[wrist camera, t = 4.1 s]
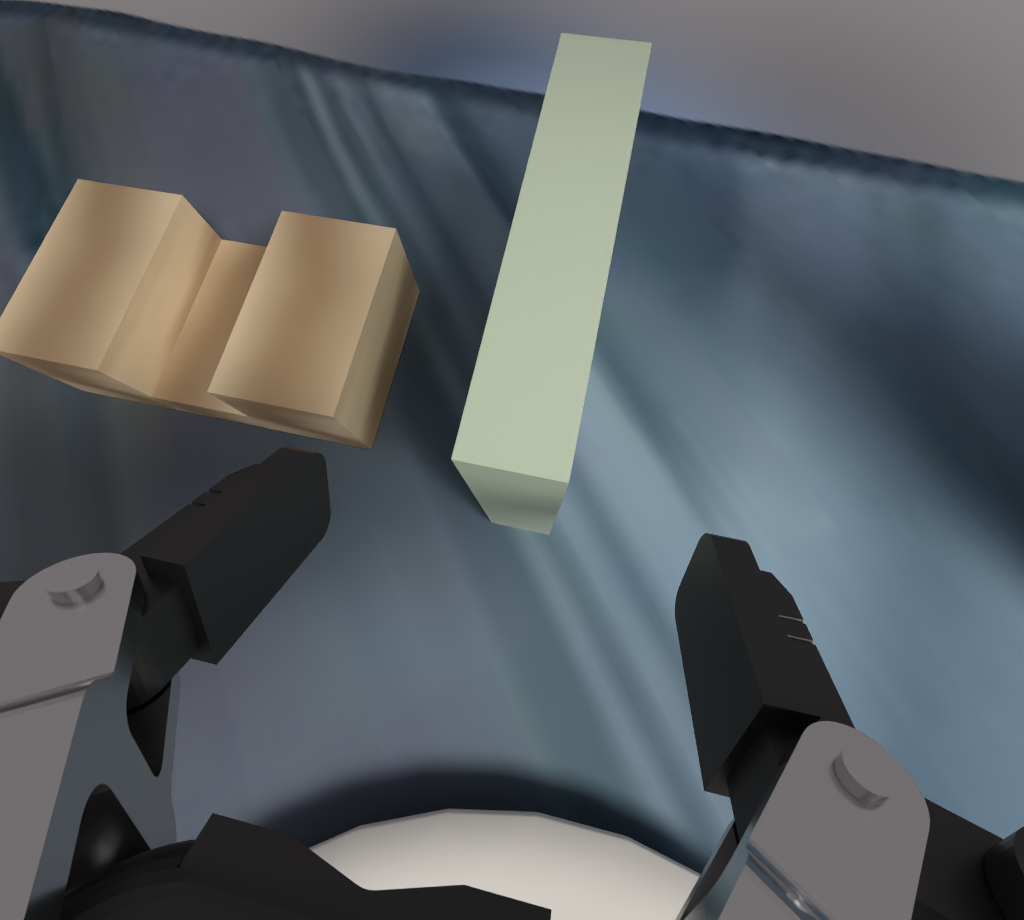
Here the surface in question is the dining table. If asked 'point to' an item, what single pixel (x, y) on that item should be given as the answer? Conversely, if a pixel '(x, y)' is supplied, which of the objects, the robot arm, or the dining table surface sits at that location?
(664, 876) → the plated food
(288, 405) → the slotted maple beam
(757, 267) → the dining table surface
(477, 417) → the sage plate
